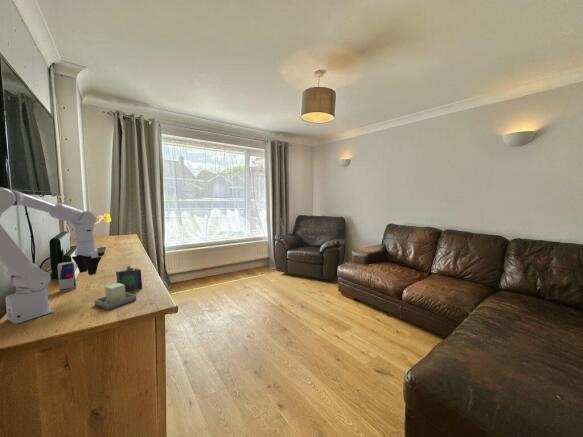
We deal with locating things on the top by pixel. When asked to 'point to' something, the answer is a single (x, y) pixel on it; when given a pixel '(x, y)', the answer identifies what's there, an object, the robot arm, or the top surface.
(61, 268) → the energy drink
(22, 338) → the top surface
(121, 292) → the green block
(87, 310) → the top surface
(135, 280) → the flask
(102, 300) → the dish
